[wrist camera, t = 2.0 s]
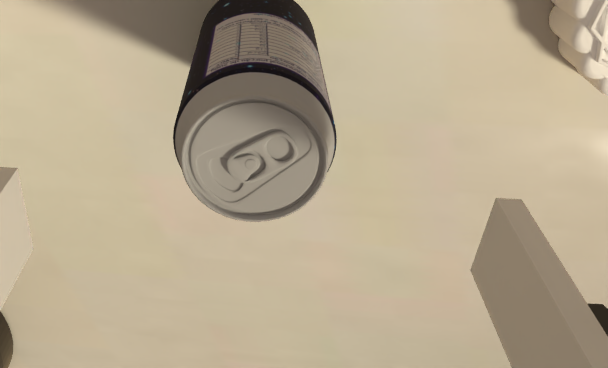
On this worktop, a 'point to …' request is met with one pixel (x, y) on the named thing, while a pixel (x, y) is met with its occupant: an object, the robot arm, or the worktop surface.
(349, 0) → the worktop surface
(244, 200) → the beverage can
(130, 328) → the worktop surface
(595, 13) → the mooncake
